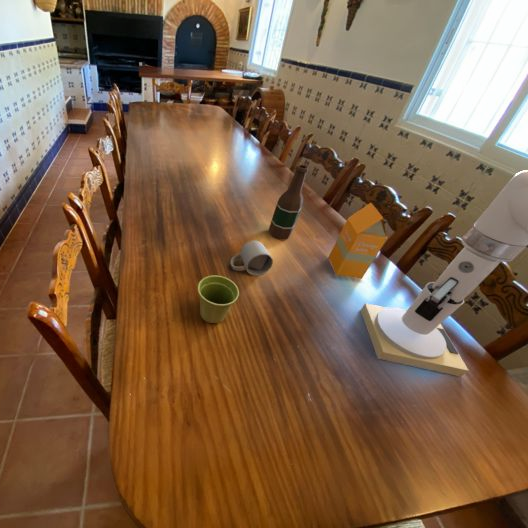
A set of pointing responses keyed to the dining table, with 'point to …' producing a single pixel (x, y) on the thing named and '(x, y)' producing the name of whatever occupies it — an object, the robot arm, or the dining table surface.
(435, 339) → the scale
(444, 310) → the white cup
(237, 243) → the dining table surface
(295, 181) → the beer bottle
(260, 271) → the ceramic mug
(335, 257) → the orange juice
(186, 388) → the dining table surface
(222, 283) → the plant pot
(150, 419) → the dining table surface
